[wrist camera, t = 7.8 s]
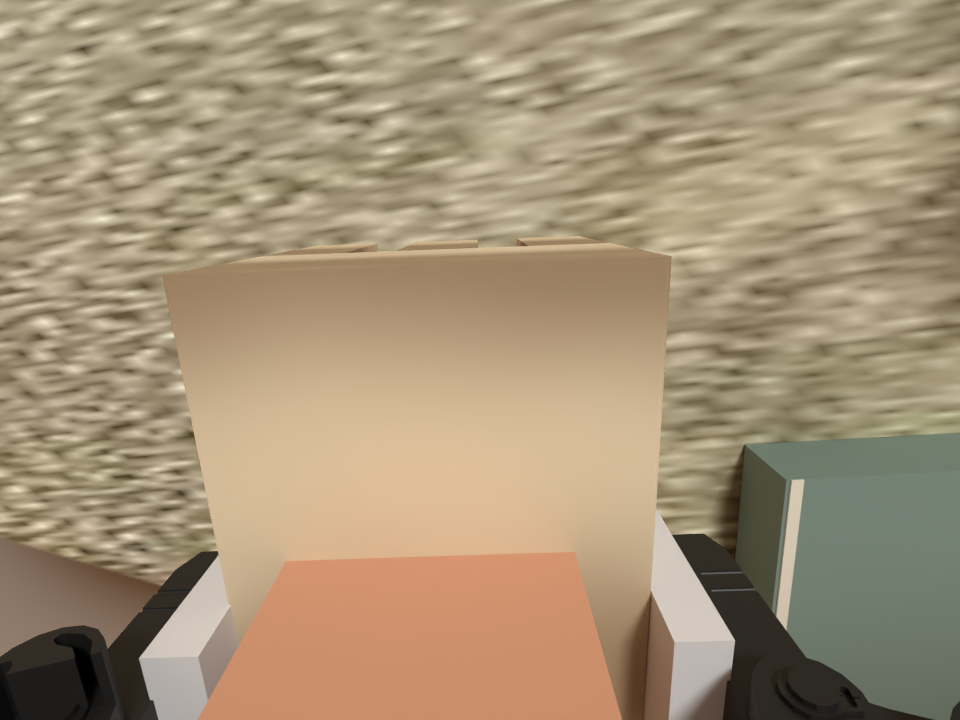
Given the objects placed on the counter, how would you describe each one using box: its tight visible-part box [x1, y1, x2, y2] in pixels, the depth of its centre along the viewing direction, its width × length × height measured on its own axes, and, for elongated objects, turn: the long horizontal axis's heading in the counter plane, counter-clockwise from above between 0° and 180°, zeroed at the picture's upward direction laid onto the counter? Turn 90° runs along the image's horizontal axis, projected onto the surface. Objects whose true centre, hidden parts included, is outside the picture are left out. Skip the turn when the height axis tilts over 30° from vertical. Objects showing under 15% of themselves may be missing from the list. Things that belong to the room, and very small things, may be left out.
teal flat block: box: [735, 433, 960, 720], centre depth 28 cm, size 18×14×6 cm
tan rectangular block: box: [163, 236, 671, 720], centre depth 11 cm, size 12×6×6 cm, turn 2°
